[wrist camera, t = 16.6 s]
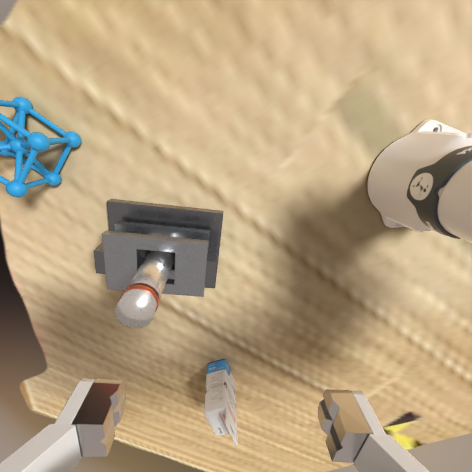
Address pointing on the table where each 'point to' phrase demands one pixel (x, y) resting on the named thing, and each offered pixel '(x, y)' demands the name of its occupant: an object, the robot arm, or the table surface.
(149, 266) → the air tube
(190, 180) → the table surface
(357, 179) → the table surface
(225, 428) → the ink box
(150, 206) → the collar stand
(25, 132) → the molecular structure
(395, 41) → the table surface
